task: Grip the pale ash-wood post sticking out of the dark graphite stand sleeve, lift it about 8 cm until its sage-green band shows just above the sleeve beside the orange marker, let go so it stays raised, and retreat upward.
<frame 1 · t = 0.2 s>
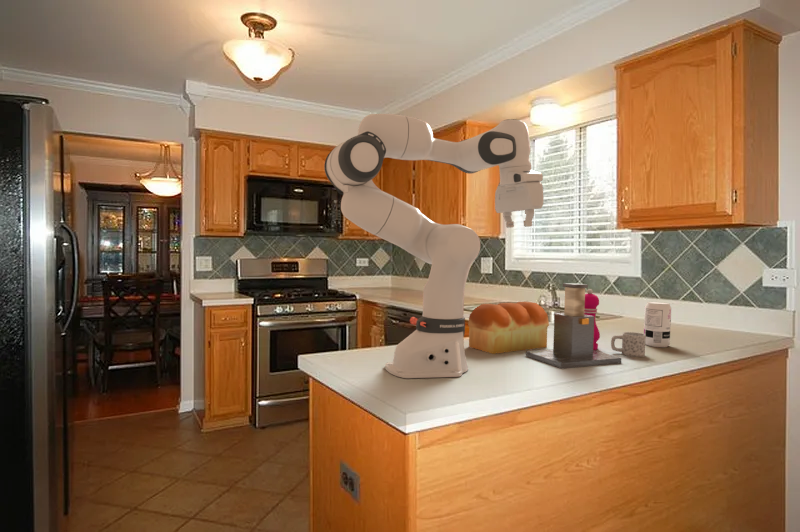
hand: (518, 227, 141), 39 cm above the worktop, tool pointing down, fingers open, 8 cm apart
column: (574, 318, 148), point 12 cm above the worktop, slide at 0.0 cm
mug: (627, 354, 158), on the worktop
bread: (508, 348, 165), on the worktop
stand: (572, 359, 148), on the worktop
pink tall rounded piece: (587, 348, 166), on the worktop
supplement can: (656, 345, 174), on the worktop
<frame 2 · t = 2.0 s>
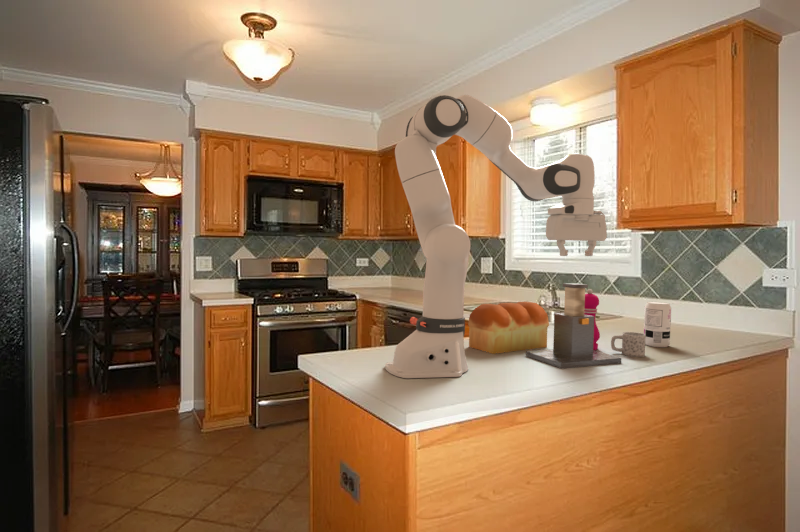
hand: (576, 256, 147), 31 cm above the worktop, tool pointing down, fingers open, 8 cm apart
nothing on the worktop moved.
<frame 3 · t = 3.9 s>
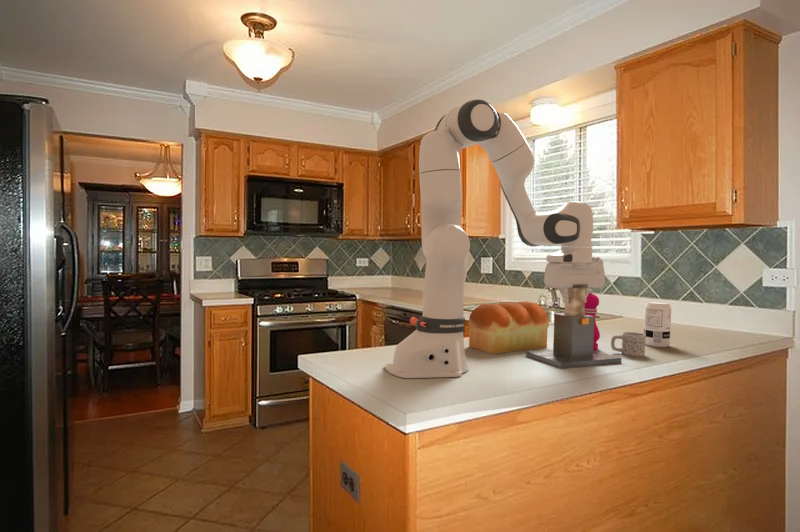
hand: (574, 302, 148), 17 cm above the worktop, tool pointing down, fingers closed on column, 4 cm apart
column: (574, 318, 148), point 12 cm above the worktop, slide at 0.0 cm, touching gripper
everything else where it was.
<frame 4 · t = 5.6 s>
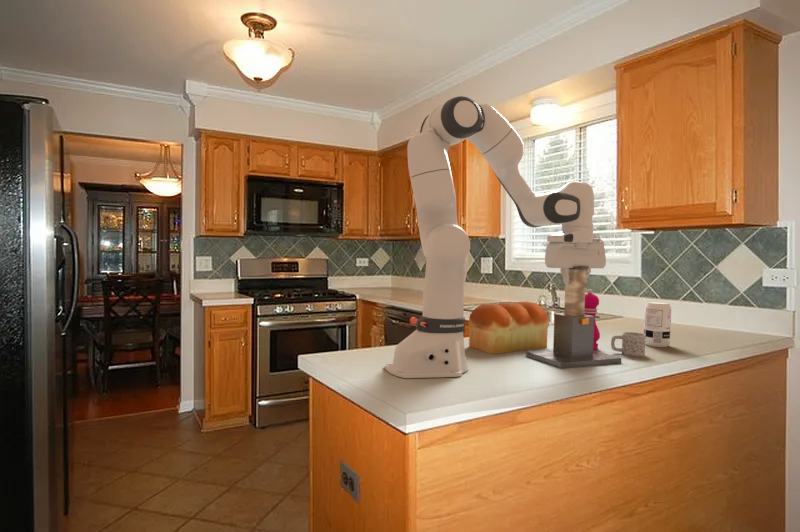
hand: (575, 283, 147), 23 cm above the worktop, tool pointing down, fingers closed on column, 4 cm apart
column: (574, 300, 148), point 18 cm above the worktop, slide at 5.5 cm, touching gripper
everything else where it was.
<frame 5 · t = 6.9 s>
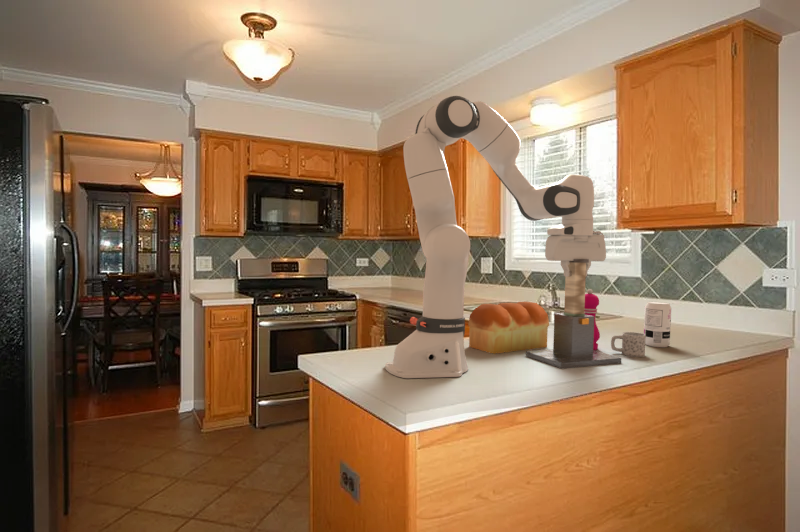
hand: (575, 276, 147), 25 cm above the worktop, tool pointing down, fingers closed on column, 4 cm apart
column: (574, 293, 148), point 20 cm above the worktop, slide at 7.5 cm, touching gripper
everything else where it was.
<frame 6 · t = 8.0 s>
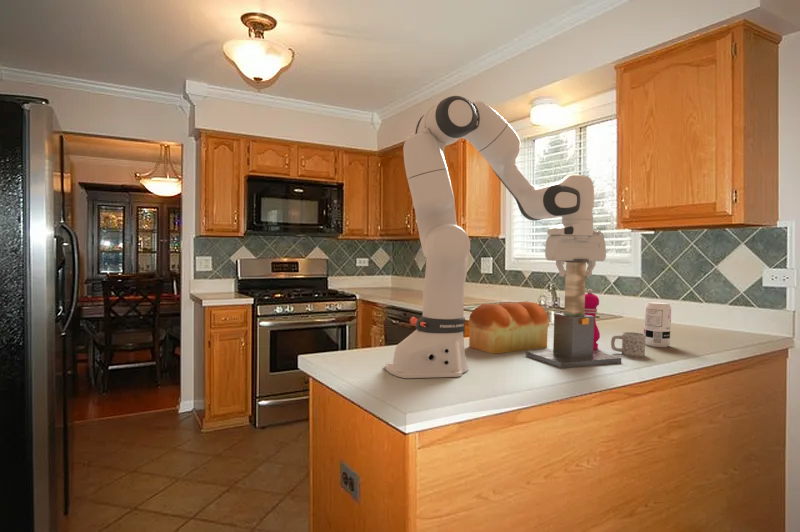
hand: (575, 276, 147), 25 cm above the worktop, tool pointing down, fingers open, 8 cm apart
column: (574, 293, 148), point 20 cm above the worktop, slide at 7.5 cm
everything else where it was.
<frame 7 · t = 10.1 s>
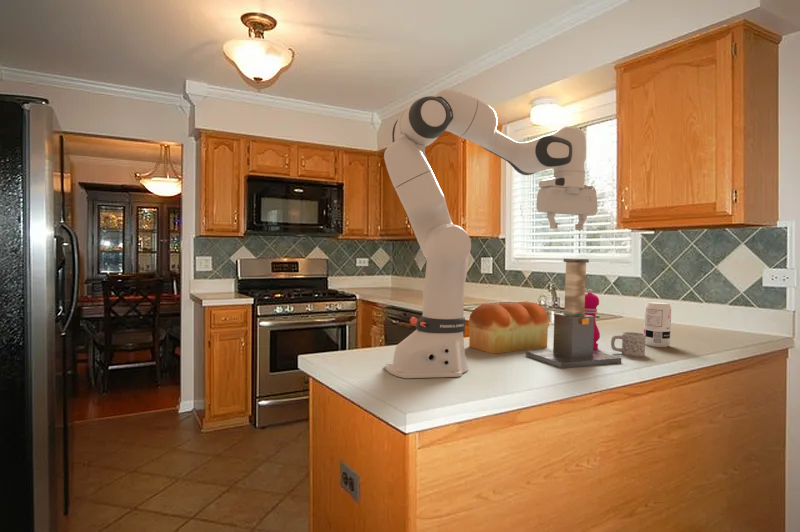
hand: (566, 229, 148), 39 cm above the worktop, tool pointing down, fingers open, 8 cm apart
nothing on the worktop moved.
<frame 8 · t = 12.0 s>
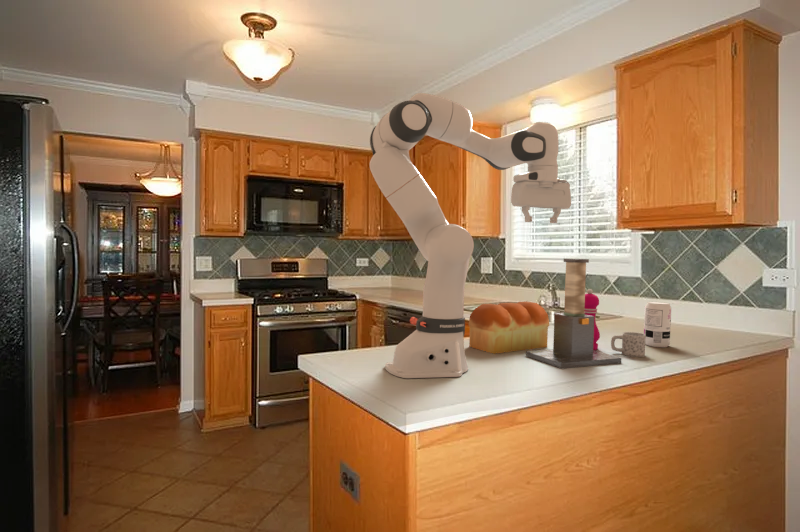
hand: (541, 222, 151), 41 cm above the worktop, tool pointing down, fingers open, 8 cm apart
nothing on the worktop moved.
at the end: column slide at 7.5 cm; the gripper is holding nothing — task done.
